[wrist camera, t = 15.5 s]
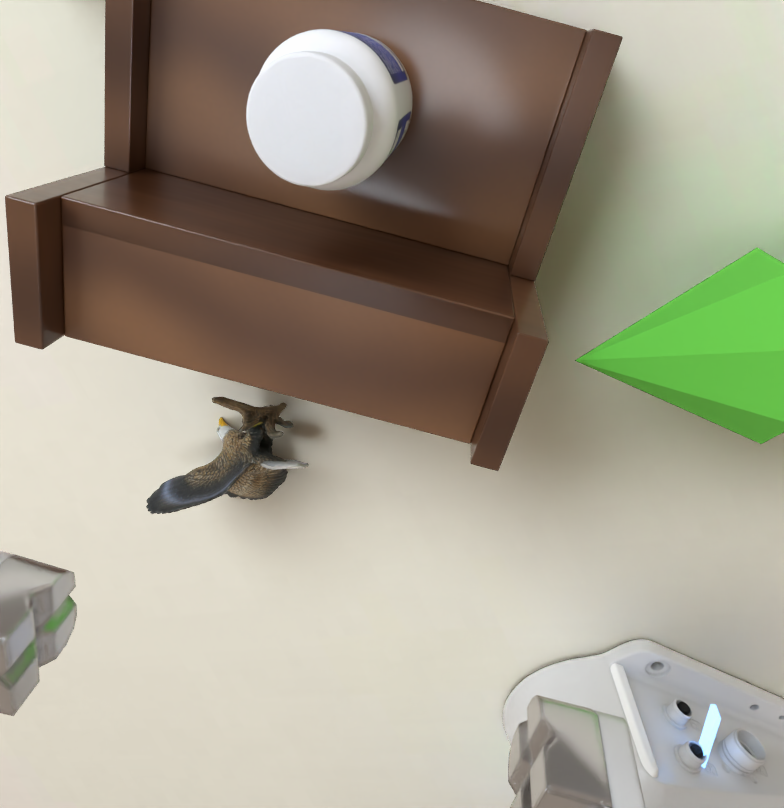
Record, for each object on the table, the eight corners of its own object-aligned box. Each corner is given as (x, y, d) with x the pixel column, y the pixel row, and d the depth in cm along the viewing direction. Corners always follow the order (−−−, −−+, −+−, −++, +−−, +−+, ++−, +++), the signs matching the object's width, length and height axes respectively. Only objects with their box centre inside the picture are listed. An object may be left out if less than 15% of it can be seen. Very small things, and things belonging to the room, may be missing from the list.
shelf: (157, -81, 28) (-21, -159, 18) (603, 39, 28) (671, 29, 18) (144, 263, 36) (14, 343, 26) (493, 356, 36) (498, 471, 26)
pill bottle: (281, 49, 27) (202, 45, 19) (400, 19, 26) (367, 3, 18) (312, 177, 30) (253, 219, 22) (423, 154, 29) (402, 191, 21)
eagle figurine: (196, 357, 37) (131, 474, 40) (228, 430, 32) (151, 558, 35) (302, 392, 42) (238, 494, 45) (344, 460, 37) (269, 570, 40)
